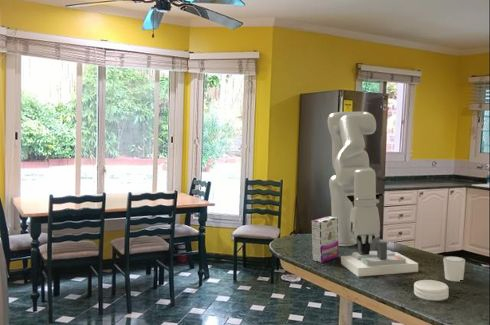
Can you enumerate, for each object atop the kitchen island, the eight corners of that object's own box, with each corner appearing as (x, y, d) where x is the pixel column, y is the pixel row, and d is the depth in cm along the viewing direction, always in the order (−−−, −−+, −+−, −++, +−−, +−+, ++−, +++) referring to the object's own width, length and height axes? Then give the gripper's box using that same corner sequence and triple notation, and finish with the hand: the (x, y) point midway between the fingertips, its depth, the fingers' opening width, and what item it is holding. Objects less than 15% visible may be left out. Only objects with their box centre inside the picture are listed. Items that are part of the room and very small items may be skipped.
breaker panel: (341, 263, 179) (340, 237, 178) (396, 259, 183) (396, 233, 182) (358, 276, 163) (357, 247, 162) (418, 271, 167) (418, 243, 166)
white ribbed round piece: (437, 289, 150) (437, 278, 149) (455, 300, 140) (455, 288, 139) (408, 291, 148) (408, 280, 148) (423, 302, 139) (423, 291, 138)
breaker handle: (377, 257, 170) (377, 241, 169) (383, 256, 170) (383, 240, 170) (380, 259, 167) (380, 242, 167) (386, 258, 167) (386, 242, 167)
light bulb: (380, 257, 186) (380, 233, 185) (364, 257, 187) (364, 232, 187) (379, 253, 192) (378, 229, 191) (364, 253, 193) (363, 229, 192)
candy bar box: (329, 255, 192) (328, 215, 191) (339, 257, 188) (338, 217, 187) (311, 260, 184) (310, 219, 183) (321, 263, 181) (320, 221, 180)
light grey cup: (448, 274, 163) (448, 254, 163) (468, 278, 158) (468, 258, 158) (439, 279, 159) (439, 259, 158) (460, 283, 154) (460, 262, 153)
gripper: (379, 200, 171) (380, 249, 172) (341, 202, 168) (341, 252, 169) (389, 203, 164) (389, 254, 165) (349, 205, 161) (349, 257, 162)
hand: (365, 253), depth 167 cm, fingers closed
